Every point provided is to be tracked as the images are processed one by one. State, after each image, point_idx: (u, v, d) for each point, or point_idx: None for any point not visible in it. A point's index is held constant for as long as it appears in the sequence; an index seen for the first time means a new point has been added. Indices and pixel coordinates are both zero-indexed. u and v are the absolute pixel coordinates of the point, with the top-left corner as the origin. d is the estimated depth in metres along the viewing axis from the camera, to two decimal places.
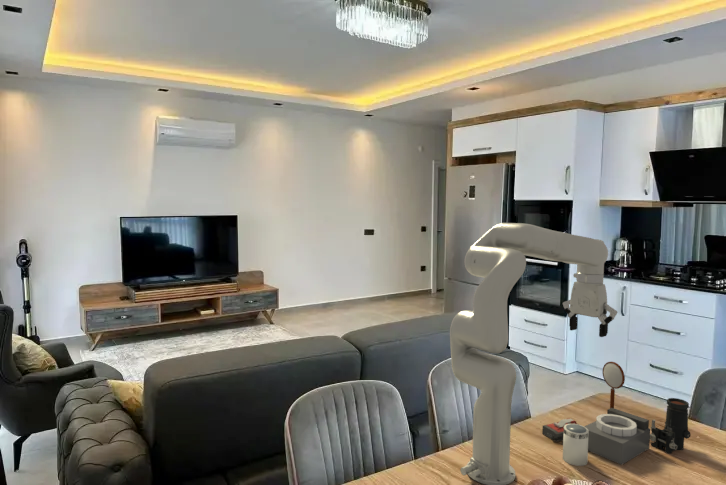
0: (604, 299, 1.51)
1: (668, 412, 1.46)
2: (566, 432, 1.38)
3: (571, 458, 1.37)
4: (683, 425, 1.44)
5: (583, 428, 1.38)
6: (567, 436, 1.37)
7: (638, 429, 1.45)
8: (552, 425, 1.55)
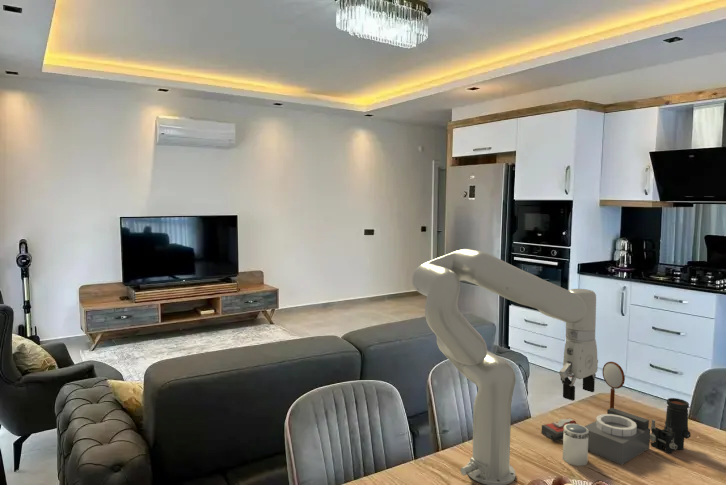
0: None
1: (668, 412, 1.46)
2: (566, 432, 1.38)
3: (571, 458, 1.37)
4: (683, 425, 1.44)
5: (583, 428, 1.38)
6: (567, 436, 1.37)
7: (638, 429, 1.45)
8: (551, 425, 1.55)
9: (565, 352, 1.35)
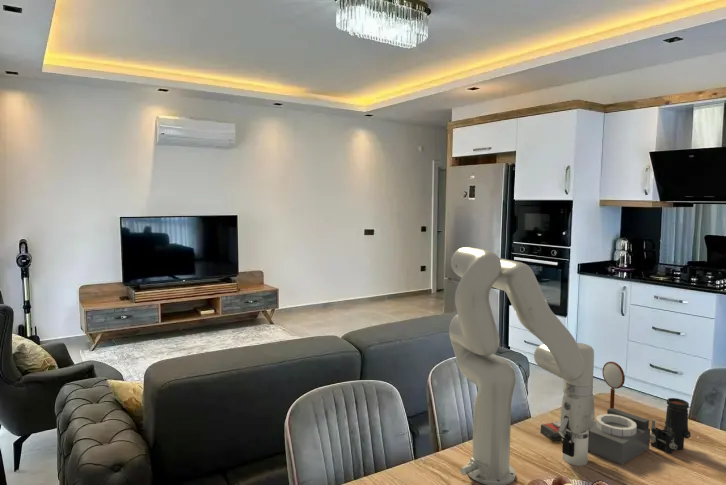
0: None
1: (668, 412, 1.46)
2: None
3: (571, 458, 1.37)
4: (683, 425, 1.44)
5: None
6: None
7: (638, 429, 1.45)
8: (550, 424, 1.55)
9: (562, 406, 1.36)
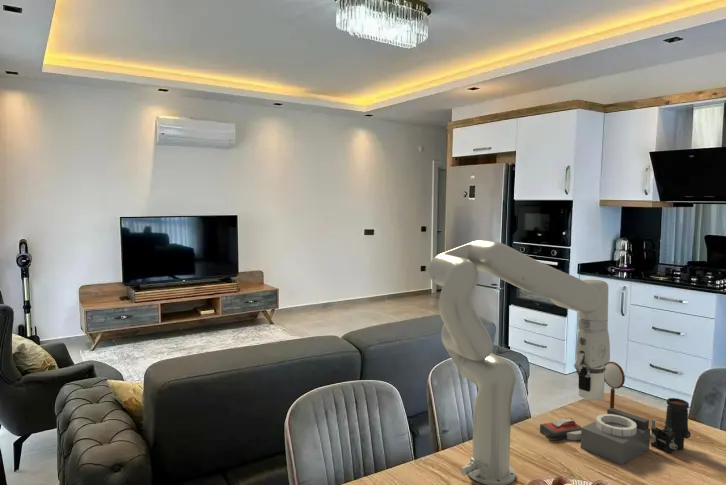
0: None
1: (668, 412, 1.46)
2: None
3: (588, 393, 1.37)
4: (683, 425, 1.44)
5: None
6: None
7: (638, 429, 1.45)
8: (550, 424, 1.55)
9: (578, 342, 1.37)
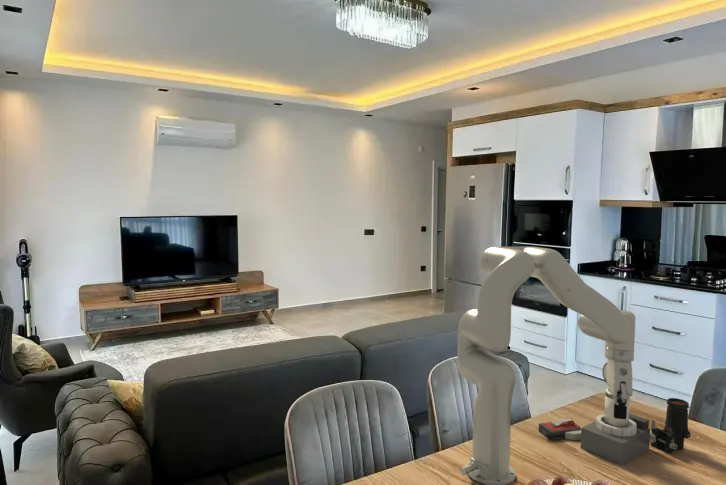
0: None
1: (668, 412, 1.46)
2: None
3: (622, 420, 1.42)
4: (683, 425, 1.44)
5: None
6: None
7: (638, 429, 1.45)
8: (549, 423, 1.56)
9: (617, 373, 1.40)
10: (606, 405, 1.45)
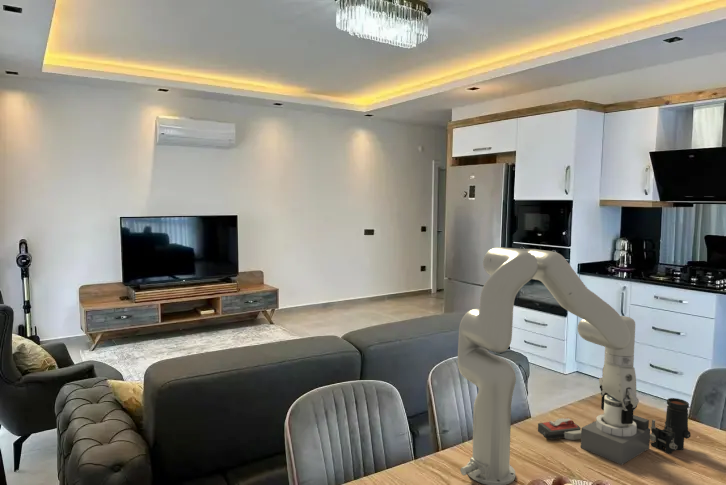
0: None
1: (668, 412, 1.46)
2: (619, 405, 1.42)
3: (625, 426, 1.42)
4: (683, 425, 1.44)
5: None
6: (620, 408, 1.42)
7: (638, 429, 1.45)
8: (548, 423, 1.56)
9: (623, 380, 1.40)
10: (607, 413, 1.44)
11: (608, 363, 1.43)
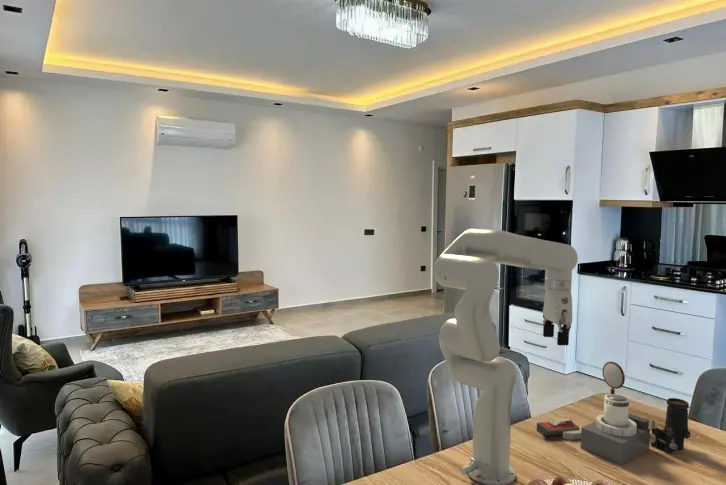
0: None
1: (668, 412, 1.46)
2: (619, 404, 1.42)
3: (625, 426, 1.43)
4: (683, 425, 1.44)
5: (617, 395, 1.47)
6: (620, 408, 1.42)
7: (638, 429, 1.45)
8: (547, 423, 1.56)
9: (559, 302, 1.45)
10: (608, 413, 1.44)
11: (547, 288, 1.49)
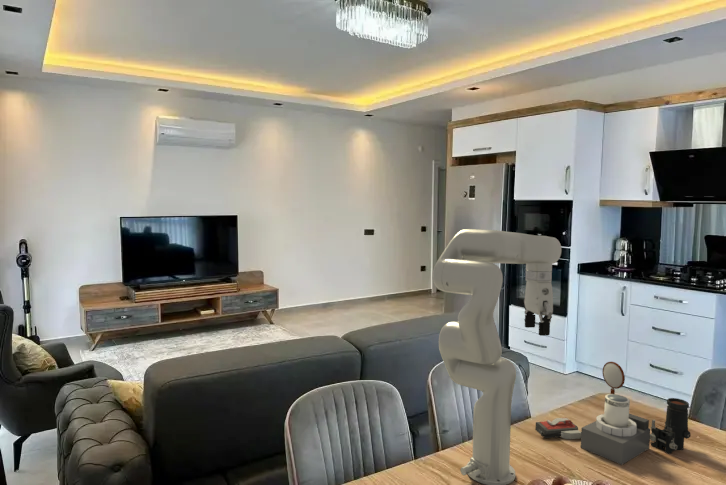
0: None
1: (668, 412, 1.46)
2: (620, 405, 1.42)
3: (625, 426, 1.43)
4: (683, 425, 1.44)
5: (618, 395, 1.47)
6: (621, 408, 1.42)
7: (638, 429, 1.45)
8: (545, 422, 1.57)
9: (540, 293, 1.48)
10: (608, 413, 1.44)
11: (528, 279, 1.51)
